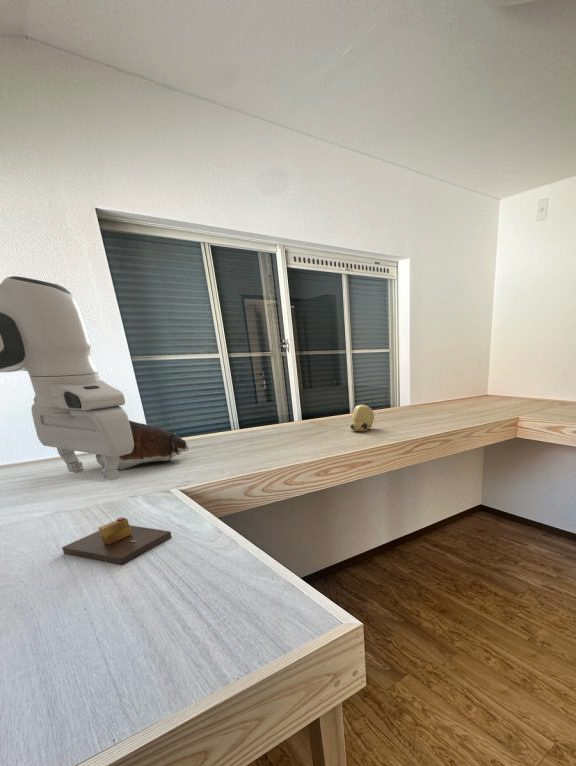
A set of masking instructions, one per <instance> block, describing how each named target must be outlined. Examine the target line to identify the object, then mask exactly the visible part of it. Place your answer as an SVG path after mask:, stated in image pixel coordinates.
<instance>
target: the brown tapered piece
mask: <svg viewBox="0 0 576 766" xmlns="http://www.w3.org/2000/svg"><path fill="white" fill-rule="evenodd" d="M129 423H130V427H131V431H132V436H133V441H134V447H133V450H132V452H131V453H129V454H126V455H122V456H119V458H120V459H119V464H118V468H117V470H126V469H128V468H131V467H134V466H137V465H139V464H143V463H151V462H167V461H171V459H173V457H174V458H175V457H176V456H178V455H181V454H182V452H187V451H189V449H190V447H189V443H188V442H187V441H186V440H185V439H183V438H182V437H180V436H179V435H177V433H176V432H171V431H168V430H165V429H163V428H160V427H156V426H151V425H148V424H146V423H141V422H136V421H133V420H130V419H129ZM95 459H96V462H97V463H98V464H99V465H100V466H101V467H104V461H102V459H101V455H98V454H95Z"/></svg>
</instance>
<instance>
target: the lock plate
mask: <svg viewBox="0 0 576 766" xmlns="http://www.w3.org/2000/svg"><path fill="white" fill-rule="evenodd" d="M129 526H130V530H131V533H132V535H129V536H127V537H125V538H122V539H120V540H118V541H116V542H113V543H111V544H109V545H108V544H104V543H103V540H102V537H101V534H100V531H99V530H97V531H95V532H92V533H90V534H89V535H86V536H83V537H81V538H80V539H77V540H75V541H73V542H70V543H69V544H67V545H64V546H62V547H61V549H62V552H63V554H64V555H67V556H72V557H77V558H83V559H88V560H92V561H97V562H104V563H109V564H113V565H119V566H124V565H126V564H128V563H130V562H132V561H133V560H135V559H137V558H138V557H140V556H142V555H144V554H146V553H148V552H150V551H152V550H153V549H155V548H156V547H158V546H160V545H162V544H164V543H165V542H167V541H169V540H171V539H173V537H172V532H171V531H169V530H163V529H156V528H149V527H144V526H139V525H131V524H129Z"/></svg>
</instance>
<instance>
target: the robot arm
mask: <svg viewBox="0 0 576 766" xmlns="http://www.w3.org/2000/svg"><path fill="white" fill-rule="evenodd" d="M97 369H98V368H97V367H96V366H95V364H94V362H93V360H92V357H91V341H90V338H89V333H88V330H87V328H86V323H85V321H84V318H83V315H82V312H81V310H80V307H79V305H78V303H77V301H76V298H75V297H74V295H73V294H72V293H71V292H70V291H69V290H68V289H67V288H65V287H64V286H62V285H60V284H58V283H52V282H48V281H43V280H39V279H36V278H35V279H34V278H31V277H25V276H17V275H13V276H12V275H11V276H8V277H5V278H4V279H3V280H2V282H1V283H0V373H15V372H21V371H22V372H27V374H28V376H29V379H30V383H31V385H32V389H33V392H34V397H33V404H32V405H31V415H32V420H33V424H34V429H35V432H36V436H37V439H38V441H39V442H40V443H41V444H42V445H43V446H44V447H49V448H55V449H56V450H57V454H58V455H59V456H60V458H61V459H62V460H63V462H64V463H65V464H66V467H67V470H68V472H69V473H71V474H79V473H82V472H84V471H85V469H84V467H83V465H84V464H83V462H82V461H80V460H79V458H78V456H77V455H76V453H75V452H79V453H85V454H86V453H87V454H93V455H96V454H98V455H101V459H102V461H104V466H103V469H101V474H102V479H104V480H107V481H115V480H117V479H119V478H120V473H119V469H117V468H118V464H119V459H120V458H119V456H122V455H126V454H129V453H131V452H132V450H133V447H134V441H133V436H132V431H131V427H130V423H129V420H130V419H129V417H128V414H127V412H126V410H125V409H124V408H123V407H122V406H124V405H125V404H126V400H125V395H124V393H123V392H122V391H121V390H119V389H117V388H115V387H113V386H111V385H110V384H108V383H106V382H105V380H101V379H100V375H99V371H98V370H97Z"/></svg>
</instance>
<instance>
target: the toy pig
mask: <svg viewBox="0 0 576 766" xmlns="http://www.w3.org/2000/svg"><path fill="white" fill-rule="evenodd" d="M351 415H352V416H351V424H350V429H351V430H352V431H354V432H359V433H361V432H362V431H363V432H366V431H367V430H368V429H370V428H372V427H373V423H374V420H375V414H374V411H373V409H372V408H371V407H370V406H368V405H365V404H357V405H355V407H354V409H353V411H352V414H351Z"/></svg>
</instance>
